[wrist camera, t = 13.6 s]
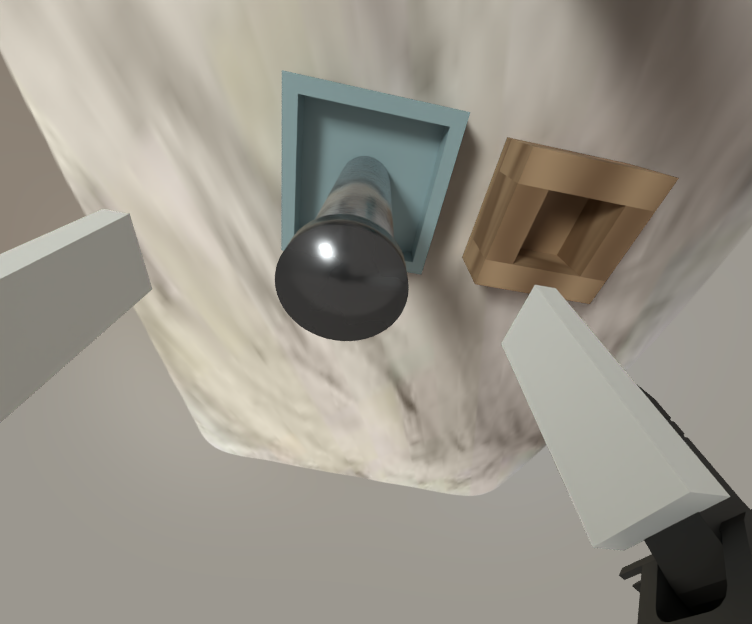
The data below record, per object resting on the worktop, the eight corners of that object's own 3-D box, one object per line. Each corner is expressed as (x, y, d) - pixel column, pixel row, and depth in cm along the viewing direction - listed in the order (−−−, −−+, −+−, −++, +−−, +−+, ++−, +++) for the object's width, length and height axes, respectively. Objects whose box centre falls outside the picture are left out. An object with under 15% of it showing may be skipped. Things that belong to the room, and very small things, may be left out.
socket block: (462, 257, 29) (475, 284, 25) (507, 137, 23) (533, 146, 19) (561, 275, 30) (589, 303, 26) (628, 163, 24) (678, 178, 20)
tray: (290, 236, 28) (281, 250, 26) (293, 73, 21) (281, 70, 19) (418, 259, 29) (421, 274, 27) (460, 110, 22) (470, 112, 20)
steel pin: (331, 208, 26) (275, 331, 12) (337, 143, 23) (274, 213, 10) (388, 218, 26) (392, 348, 13) (401, 156, 23) (423, 240, 10)
